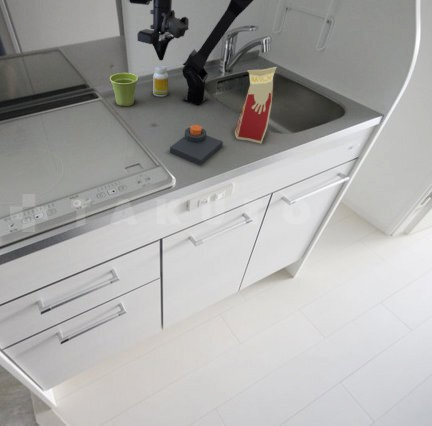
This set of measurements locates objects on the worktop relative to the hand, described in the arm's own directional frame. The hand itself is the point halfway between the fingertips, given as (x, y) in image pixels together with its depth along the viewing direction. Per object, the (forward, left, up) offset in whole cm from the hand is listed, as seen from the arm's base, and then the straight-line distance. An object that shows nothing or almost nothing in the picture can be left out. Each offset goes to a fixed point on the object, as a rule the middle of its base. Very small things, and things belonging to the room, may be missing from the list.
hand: (161, 60), depth 105 cm
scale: (+24, +31, -12) cm, 41 cm away
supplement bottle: (0, 0, -12) cm, 12 cm away
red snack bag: (+6, +39, -12) cm, 41 cm away
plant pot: (+14, -5, -12) cm, 19 cm away
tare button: (+21, +28, -9) cm, 36 cm away
